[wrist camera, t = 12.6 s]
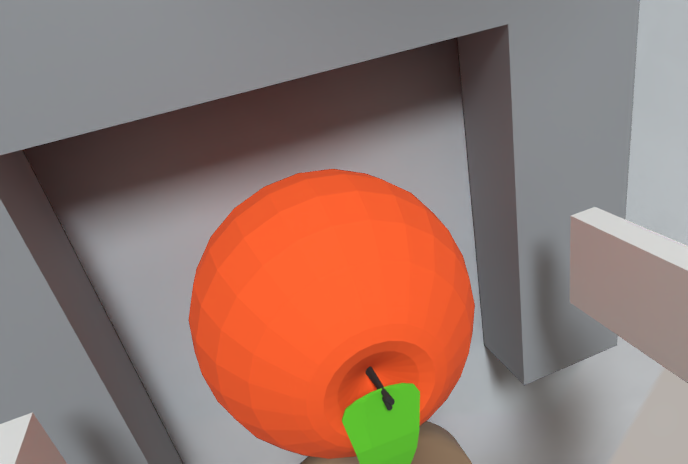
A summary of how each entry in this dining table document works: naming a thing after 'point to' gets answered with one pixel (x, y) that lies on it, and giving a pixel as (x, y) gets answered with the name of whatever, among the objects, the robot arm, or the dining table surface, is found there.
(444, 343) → the clementine
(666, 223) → the dining table surface
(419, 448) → the bobbin
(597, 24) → the notched board
